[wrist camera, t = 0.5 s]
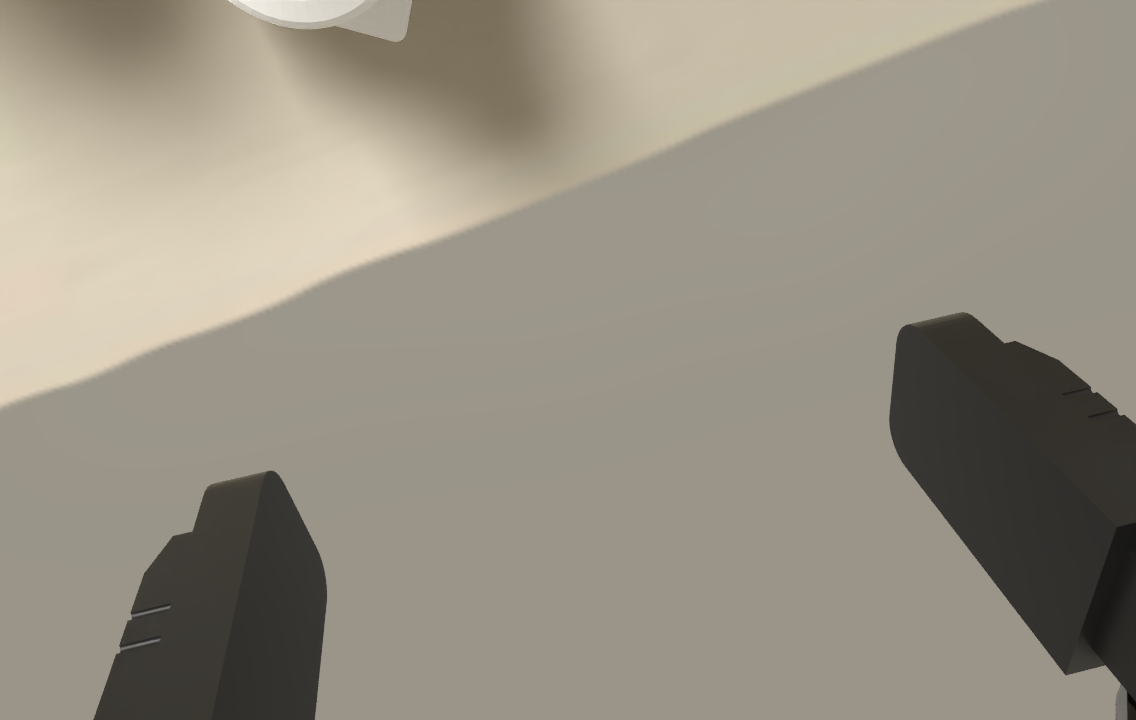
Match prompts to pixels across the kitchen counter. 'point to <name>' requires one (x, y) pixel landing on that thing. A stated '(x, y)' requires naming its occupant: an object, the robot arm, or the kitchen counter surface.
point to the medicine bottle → (335, 15)
